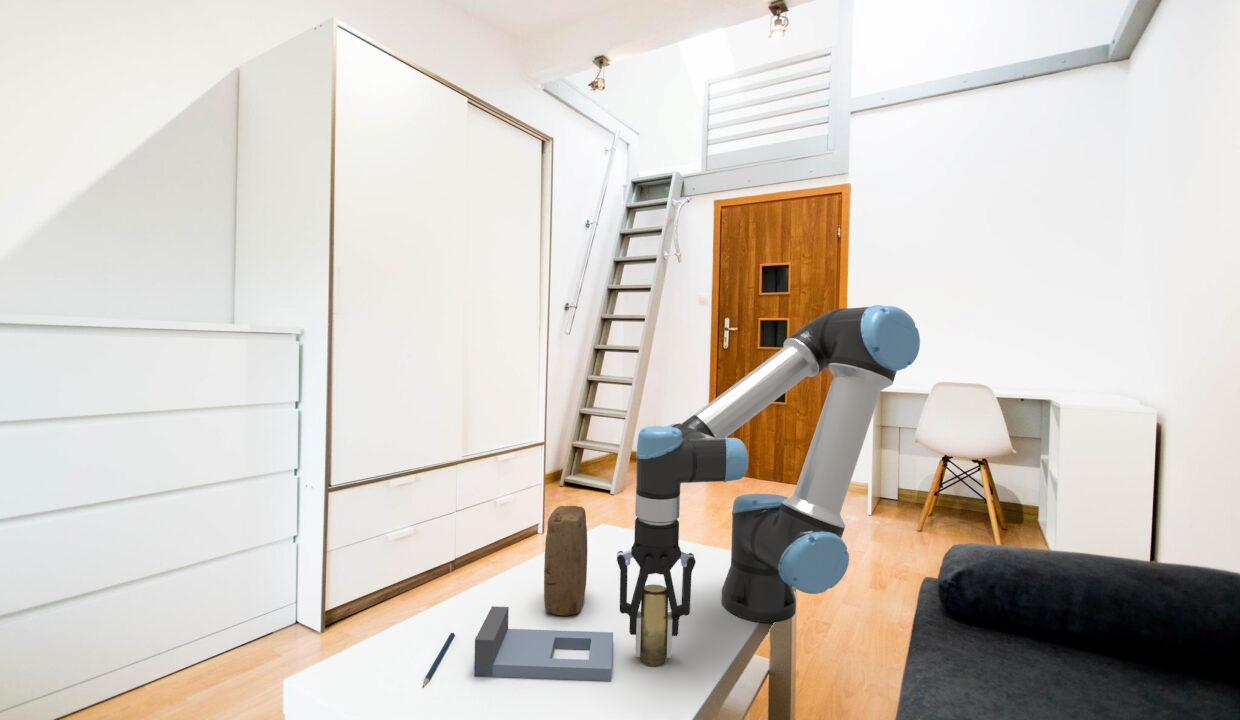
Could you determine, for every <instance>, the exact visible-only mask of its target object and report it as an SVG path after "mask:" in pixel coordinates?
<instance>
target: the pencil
mask: <svg viewBox="0 0 1240 720" xmlns="http://www.w3.org/2000/svg"><path fill="white" fill-rule="evenodd" d="M455 636H456V635H455V633H454V632H450V634H449V635H448V638H447V639H446V641H445V643H444V645H443V646H442V647H441V649H440V651H439V653H438V654H437V656H436V658H435V660H434V662H433V663H432V665H431V667H430V668H429V670H428V672H427V674H426V675H425V677H424V679H423V681H422V682H423V683H422V688H424V687H425V686H426V685H428V683H430V681H431V679H432V677H433V675H434V674H435V672H436V671H437V669H438V668H439V665H440V663H441V661H442V660H443V658H444V656H445V655H446V652H447V650H448V649H449V647H450V645H451V643H452V641H453V640H454V638H455Z"/></svg>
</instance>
